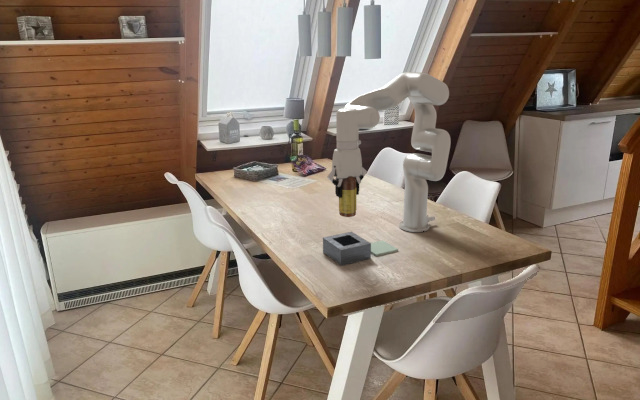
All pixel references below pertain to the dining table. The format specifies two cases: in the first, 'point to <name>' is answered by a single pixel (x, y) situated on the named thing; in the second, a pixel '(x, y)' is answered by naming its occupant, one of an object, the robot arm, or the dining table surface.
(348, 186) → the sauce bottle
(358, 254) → the collar
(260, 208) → the dining table surface
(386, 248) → the mat
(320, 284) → the dining table surface
